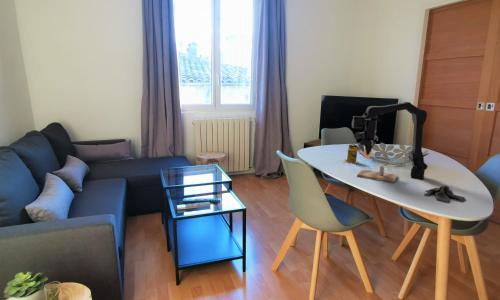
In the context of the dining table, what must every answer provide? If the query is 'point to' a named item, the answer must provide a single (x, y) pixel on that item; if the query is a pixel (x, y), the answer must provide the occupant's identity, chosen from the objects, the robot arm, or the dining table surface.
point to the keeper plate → (377, 175)
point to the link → (376, 158)
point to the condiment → (351, 154)
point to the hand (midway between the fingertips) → (367, 154)
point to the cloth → (444, 194)
